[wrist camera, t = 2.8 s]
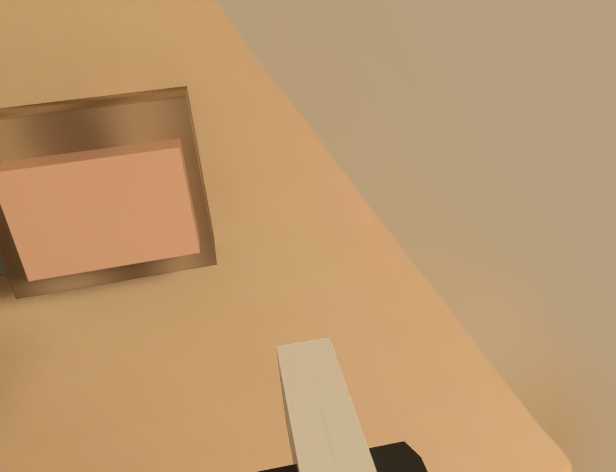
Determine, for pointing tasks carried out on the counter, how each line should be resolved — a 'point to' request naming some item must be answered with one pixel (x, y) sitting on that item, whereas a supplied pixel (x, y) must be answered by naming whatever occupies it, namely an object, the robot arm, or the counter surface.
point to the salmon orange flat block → (99, 208)
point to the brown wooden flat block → (97, 135)
